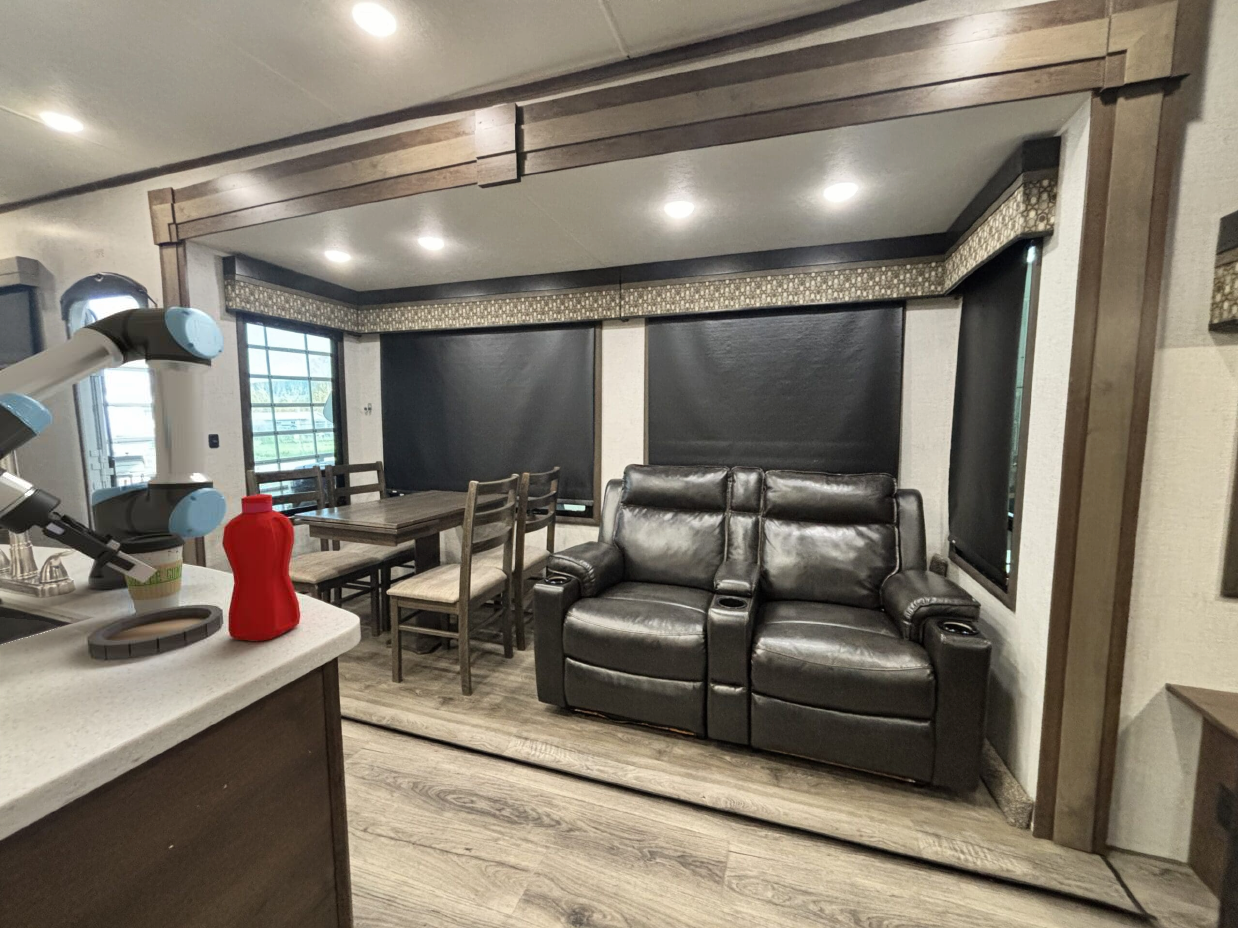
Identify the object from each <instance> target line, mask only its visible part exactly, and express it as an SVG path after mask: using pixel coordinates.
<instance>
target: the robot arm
mask: <svg viewBox="0 0 1238 928" xmlns="http://www.w3.org/2000/svg"><path fill="white" fill-rule="evenodd" d="M223 336H224V335H223V333H222V330H221V328H220V327H219V325H218V323H216V322H215V321H214V319H213V318H212V317H211V316H210V315H209V314H207V313H205V312H204V311H202V310H200V309H197V308H195V307H193V308H192V307H180V306H171V307H146V308H143V307H142V308H129V309H125V310H121V311H118V312H116V313H113V314H110V315H108V316H105V317H103V318H101V319H99V320H96V321H94V322H92V323H89V324H87V325H84V326H82V327H80V328H78V329H76V330H75V331H74V332H73V335H72V338H70V339H68V340H65V341H63V342H60V343H58V344H56V345H54V346H51V347H50V348H47V349H45V350H43V351H40V352H38V353H36V354H34V355H32V356H29V357H27V358H25V359H23V360H21V361H18V362H16V363H14V364H11V365H9V366H7V367H6V368H3V369H1V370H0V461H2V460H3V459H4V458H5V457H7V456H9V455H10V454H11V453H13V452H14V451H17V449H19V448H20V447H22V446H23V445H24V444H26V443H28V442H29V441H30V440H32V439H33V438H35V437H38V436H39V435H40V433H41V432H43V431H44V430H45V429H46V428H48V427H49V426H50V425H51V424H52V422H53V416H52V414H51V412H50V411H49V410H48V409H47V408H46V407H45V406H44V405H43V404H42V403H41V402H42V401H44V400H46V399H49V398H50V397H52V396H55V395H56V394H58V393H60V392H61V391H63V390H65V389H67V388H70V387H71V386H73V385H75V384H77V383H79V382H80V381H83V380H85V379H86V378H88V377H90V376H93V375H94V374H96V373H98V372H100V371H102V370H104V369H106V368H107V369H116V368H118V367H121V366H122V365H124V364H127V363H130V362H136V361H142V360H144V362H145V364H146V365H147V366H148V367H149V368H151V369H152V370H153V371H154V411H155V412H154V413H155V415H154V416H155V417H154V418H155V419H154V420H155V421H154V422H155V468H156V471H155V473H156V474H155V475H154V476H153V477H152V478H151V479H149V480H148V481H146V482H145V483H143V482H142V483H134V484H126V485H119V486H111V487H105V488H99V489H96V490H95V491H93V492H92V494H91V506H90V509H91V512H92V513H91V514H92V522H93V529H92V528H89V527H87V526H86V525H85V524H83V523H81V522H79V521H77V520H76V519H74V518H73V517H72V516H70V515H67V514H66V513H65V514H63V515H62V514H60V513H59V512H58V511H54V510H55V509H56V508H57V507H58V506H59V505H60V504H61V503H62V501H61V499H60V498H59V497H57V496H55V495H54V494H51V493H49V492H47V491H45V490H44V489H42V488H40V489H39V488H36V489H34V487H35V486H34V483H31V482H29V481H27V480H25V479H24V478H22V477H20V476H19V475H17V474H15V473H13V472H11V471H9V470H7V469H5V468H3V467H1V466H0V527H1V528H3V529H5V530H6V531H8V532H10V533H14V534H15V535H22V534H23V533H25V532H27V531H29V530H30V529H32V528H33V526H37V527H38V528H40V529H42V530H41V532H42V534H43V535H44V536H45V537H46V538H50V539H52V540H56V541H58V542H59V543H61V544H62V545H66V546H68V547H70V548H72V549H73V550H76V551H78V552H79V553H81V554H83V555H85V556H87V557H89V558H90V559H93V563H92V565H91V568H90V569H91V570H90V571H89V575H88V578H87V579H88V580H87V581H88V588H90V589H93V590H113V589H114V590H115V589H123V588H128V586H127V582H126V578H125V575H124V574H126V575H128V576H130V577H132V578H134V579H136V580H138V581H140V582H143V583H144V582H145V581H147V580H148V579H149V578H150V577H151V576H152V575H153V574H154V573H155V572H156V571H157V570H156V569H154V568H152V567H150V566H148V565H146V564H144V563H142V562H140V561H138V560H136V559H134V558H132V557H130V556H128V555H126V554H124V553H122V552H120V551H119V552H118V551H117V549H118V548H119V547H120V543H121V541H123V540H125V539H129V538H133V537H138V536H144V535H152V534H162V533H177V534H180V536H181V538H182V539H183V540H185V539H191V538H202V537H204V536H207V535H209V534H211V533H213V532H214V531H215V530H216V529H217V528H218V526H220V525H221V524H222V522H223V520H224V519H225V516H226V513H227V502H226V498H225V497H224V496H222V495H223V494H222V493H221V492H220V491H219V490H217V489H214V480H213V479H212V478H211V477H209V475H207V474H206V461H205V460H206V456H205V455H206V453H205V450H206V449H205V404H204V403H205V401H204V400H205V398H204V396H205V395H204V387H205V385H204V376H205V374H206V373H208V372H210V371H211V370H212V359H215V358H217V357H218V356H219V355H220V353H222V352H223V350H224V347H225V345H224V344H225V340H224V337H223Z"/></svg>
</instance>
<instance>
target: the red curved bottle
mask: <svg viewBox="0 0 1238 928" xmlns="http://www.w3.org/2000/svg"><path fill="white" fill-rule="evenodd" d="M240 501H241V513H240V514H238V515H236V516H234V517H233V518H232V519H230V520H229V521H228V522H227V524H226V525H224V527H223V528H224V529H223V537H222V543H221V546H222V547H223V549H224V552H225V555H226V557H227V561H228V563H229V565H230V568H231V571H232V574H233V583H234V584H233V589H232V594H231V599H230V604H229V609H228V628H227V629H228V634H229V636H230V638H232V639H234V640H240V641H251V642H252V641H253V642H263V641H268V640H272V639H274V638H276V637H278V636H281V635H282V634H284V633H286V632H288V631H290V630H293V629H295V628H296V627H297V626H298V625H299V624H300V620H301V609H300V604H299V603H300V602H299V599H298V596H297V593H296V590H295V587H294V585H293V581H292V580H291V579H292V578H291V576H290V562H291V558H292V552H293V548H294V544H295V529H294V526H293V525H294V524H293V523H292V522H291V520H290V518H289V517H288V516H286V515H285V514H283V513H280V511H277V510H274V508H273V495H272V494H269V493H268V494H267V493H257V494H252V495H247V496H244V497H241V499H240Z"/></svg>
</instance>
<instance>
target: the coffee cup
mask: <svg viewBox="0 0 1238 928" xmlns="http://www.w3.org/2000/svg"><path fill="white" fill-rule="evenodd" d="M185 544H186V541H185V539H182V538H181V536H180V534H177V533H162V534H152V535H144V536H138V537H133V538H129V539H125V540H123V541H121V543H120V547H119V548H118V549H117V551H118V552H119V551H120V552H122V553H124V554H126V555H128V556H130V557H132V558H134V559H136V560H138V561H140V562H142V563H144V564H146V565H148V566H150V567H152V568H154V569H156V570H157V571H156V572H155V573H154V574H153V575H152V576H151V577H150V578H149V579H148V580H147V581H145V582H144V583H143V582H140V581H138V580H136V579H134V578H132V577H130V576H128V575H126V574H124V575H125V578H126V582H127V586H128V587H127V588H128V593H129V595H130V596H129V597H130V599H131V600H132V604H133V607H134V611H135V615H138V614H142V613H146V612H151V611H155V610H159V609H160V610H162V609H165V608H172V607H178V606H180V593H181V592H180V591H181V590H182V579H183V577H182V576H183V574H182V573H183V562H184V561H183V559H184V557H183V546H184V545H185Z"/></svg>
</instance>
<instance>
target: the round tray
mask: <svg viewBox="0 0 1238 928" xmlns="http://www.w3.org/2000/svg"><path fill="white" fill-rule="evenodd" d="M222 624H223V625H224V612H223V609H222V608H220V607H219V606H217V605H213V604H212V605H211V604H188V605H179V606H178V607H172V608H165V609H162V610H160V609H159V610H155V611H151V612H146V613H142V614H138V615H136V614H135V615H131V616H127V617H126V618H123V619H122V618H121V619H118V620H116V621H114V622H110V623H107V625H104V626H101V627H100V628H98V629H95V630H94V631H93V632H92V633H90V634H89V636H87V637H86V638H87V648H88V654H89V656H90V658H91V659H94V660H101V661H121V660H122V661H123V660H133V659H138V658H144V657H150V656H154V655H159V654H163V653H167V652H171V651H174V650H176V649H182V648H184V647H187V646H190V645H192V644H195V643H198V642H200V641H202V640H204V639H207V638H209V637H211V636H212V635H214V634H215V633H217V632H218V631H220V630H221V629H222V627H223V625H222Z"/></svg>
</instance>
